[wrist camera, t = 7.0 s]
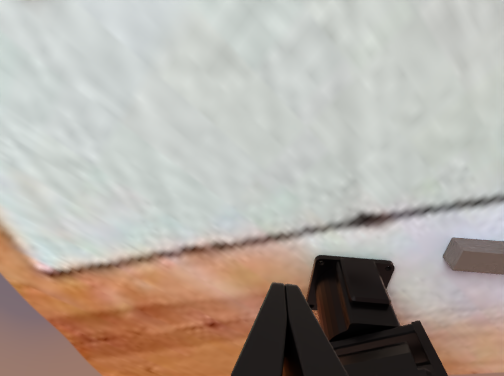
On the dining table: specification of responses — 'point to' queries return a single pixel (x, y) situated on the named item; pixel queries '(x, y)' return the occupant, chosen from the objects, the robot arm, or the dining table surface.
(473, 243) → the vise
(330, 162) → the dining table surface
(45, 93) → the dining table surface
